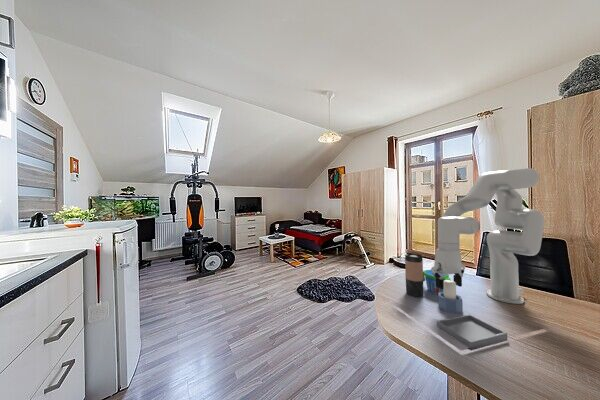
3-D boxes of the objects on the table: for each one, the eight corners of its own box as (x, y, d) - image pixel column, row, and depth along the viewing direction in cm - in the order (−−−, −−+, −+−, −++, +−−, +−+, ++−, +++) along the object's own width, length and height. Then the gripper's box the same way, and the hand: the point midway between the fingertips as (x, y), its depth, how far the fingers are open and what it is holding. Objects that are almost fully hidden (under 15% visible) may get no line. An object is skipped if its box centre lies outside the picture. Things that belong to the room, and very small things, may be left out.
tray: (469, 320, 81) (469, 314, 81) (507, 340, 69) (507, 333, 69) (436, 327, 77) (436, 321, 77) (471, 350, 65) (470, 342, 65)
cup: (448, 304, 94) (448, 290, 94) (467, 313, 86) (466, 299, 86) (434, 307, 92) (433, 293, 92) (451, 316, 84) (451, 301, 84)
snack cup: (415, 288, 111) (415, 268, 111) (432, 285, 114) (431, 267, 114) (441, 301, 96) (440, 279, 96) (459, 298, 98) (459, 277, 98)
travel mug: (426, 300, 98) (425, 257, 98) (408, 299, 99) (407, 257, 99) (420, 293, 105) (419, 253, 105) (403, 292, 107) (403, 253, 107)
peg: (449, 304, 91) (448, 279, 91) (459, 309, 87) (458, 283, 87) (441, 306, 90) (440, 280, 90) (451, 311, 86) (450, 284, 86)
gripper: (455, 243, 95) (455, 281, 94) (424, 245, 90) (424, 285, 90) (473, 246, 87) (473, 288, 87) (440, 249, 83) (440, 292, 83)
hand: (448, 286), depth 89 cm, fingers open, 9 cm apart
